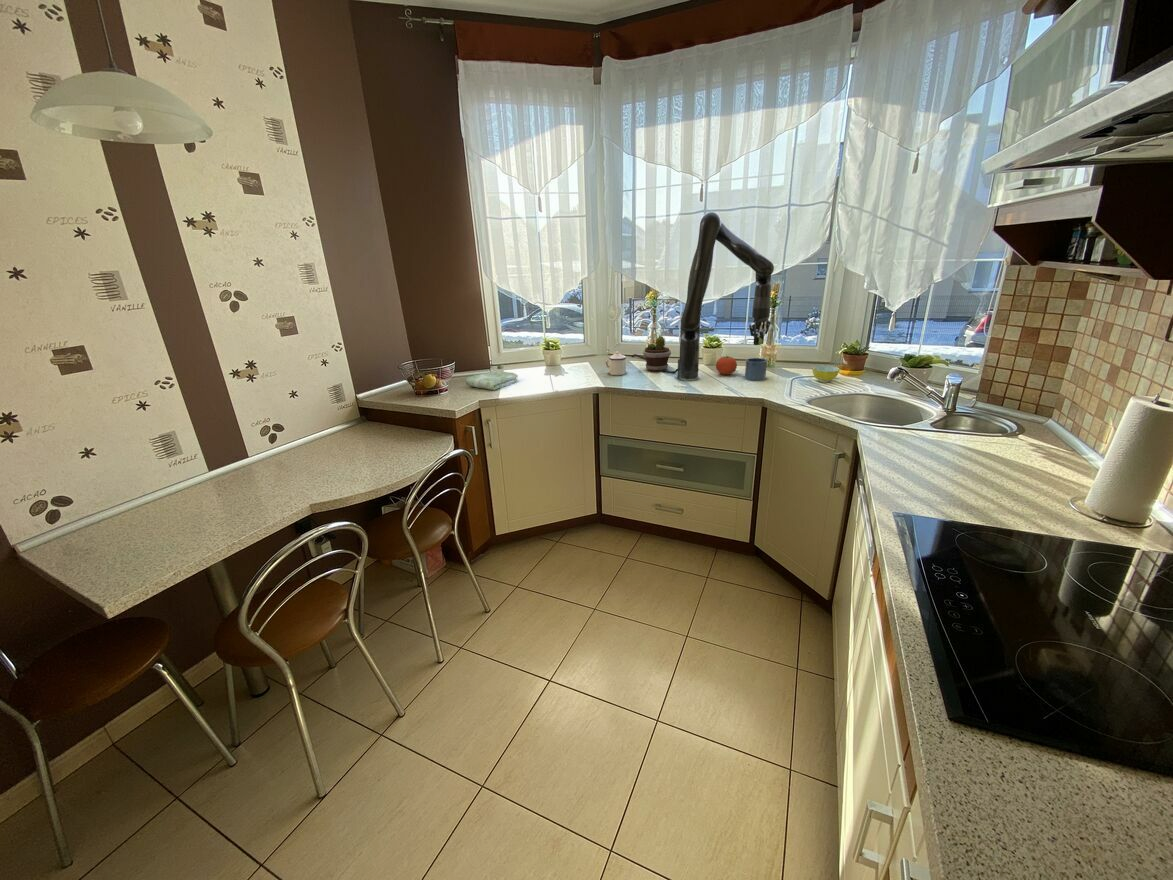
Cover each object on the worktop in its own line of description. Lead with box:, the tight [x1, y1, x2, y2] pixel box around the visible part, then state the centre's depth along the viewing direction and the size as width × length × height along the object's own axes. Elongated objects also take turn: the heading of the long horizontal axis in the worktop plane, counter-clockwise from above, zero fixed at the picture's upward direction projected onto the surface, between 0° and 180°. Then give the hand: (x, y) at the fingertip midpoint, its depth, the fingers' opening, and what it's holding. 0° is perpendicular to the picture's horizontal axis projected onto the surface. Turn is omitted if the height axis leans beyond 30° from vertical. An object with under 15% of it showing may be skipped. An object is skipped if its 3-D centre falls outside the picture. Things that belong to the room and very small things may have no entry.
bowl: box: [812, 365, 841, 383], centre depth 220 cm, size 11×12×6 cm
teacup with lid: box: [605, 351, 627, 376], centre depth 253 cm, size 12×9×12 cm
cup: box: [744, 357, 768, 382], centre depth 231 cm, size 9×9×9 cm
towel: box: [465, 370, 519, 391], centre depth 244 cm, size 18×21×5 cm
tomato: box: [715, 355, 738, 376], centre depth 240 cm, size 10×10×10 cm
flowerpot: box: [642, 334, 672, 373], centre depth 254 cm, size 14×15×20 cm
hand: (758, 344), depth 224 cm, fingers closed on green grape, 3 cm apart
